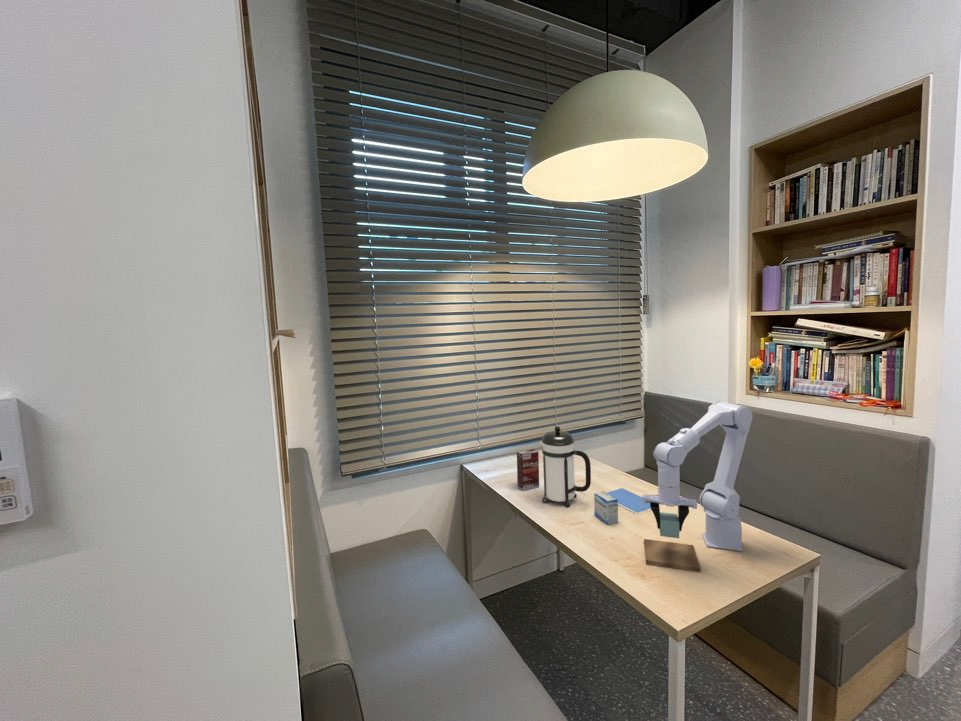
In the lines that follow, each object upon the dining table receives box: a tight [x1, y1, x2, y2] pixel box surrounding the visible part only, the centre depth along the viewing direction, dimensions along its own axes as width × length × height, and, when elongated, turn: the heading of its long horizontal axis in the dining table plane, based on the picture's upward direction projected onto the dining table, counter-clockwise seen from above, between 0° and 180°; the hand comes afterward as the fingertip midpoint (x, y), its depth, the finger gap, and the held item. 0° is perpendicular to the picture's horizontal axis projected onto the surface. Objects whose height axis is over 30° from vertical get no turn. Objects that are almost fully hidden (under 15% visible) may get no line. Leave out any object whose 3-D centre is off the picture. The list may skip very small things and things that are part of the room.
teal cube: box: [659, 511, 680, 539], centre depth 119 cm, size 5×5×5 cm
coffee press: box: [538, 426, 592, 508], centre depth 159 cm, size 17×16×30 cm
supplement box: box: [516, 449, 540, 492], centre depth 174 cm, size 9×5×16 cm, turn 114°
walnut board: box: [643, 538, 701, 573], centre depth 119 cm, size 14×12×1 cm
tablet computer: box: [606, 488, 661, 515], centre depth 157 cm, size 19×13×1 cm, turn 27°
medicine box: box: [593, 490, 619, 525], centre depth 143 cm, size 8×4×9 cm, turn 21°
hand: (669, 528), depth 119 cm, fingers closed on teal cube, 5 cm apart
